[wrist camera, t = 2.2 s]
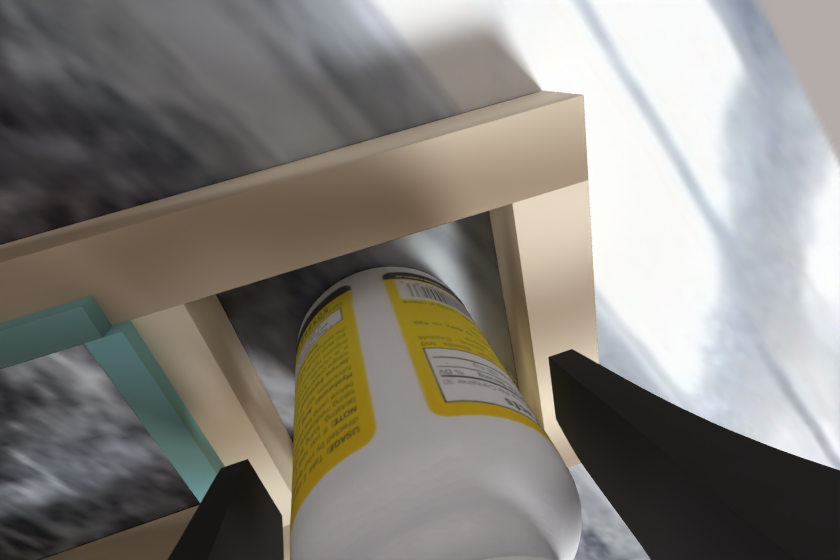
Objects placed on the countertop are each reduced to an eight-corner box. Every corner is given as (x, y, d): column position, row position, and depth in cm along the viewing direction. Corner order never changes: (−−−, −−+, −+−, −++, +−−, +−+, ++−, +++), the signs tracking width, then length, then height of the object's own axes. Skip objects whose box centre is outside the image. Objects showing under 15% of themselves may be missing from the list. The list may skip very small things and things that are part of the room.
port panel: (574, 415, 17) (611, 465, 15) (-11, 622, 16) (-65, 715, 13) (542, 90, 12) (595, 96, 10) (-375, 352, 10) (-569, 432, 8)
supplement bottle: (323, 426, 15) (340, 910, 6) (272, 287, 13) (188, 768, 4) (476, 383, 16) (676, 769, 7) (456, 242, 13) (728, 573, 5)
